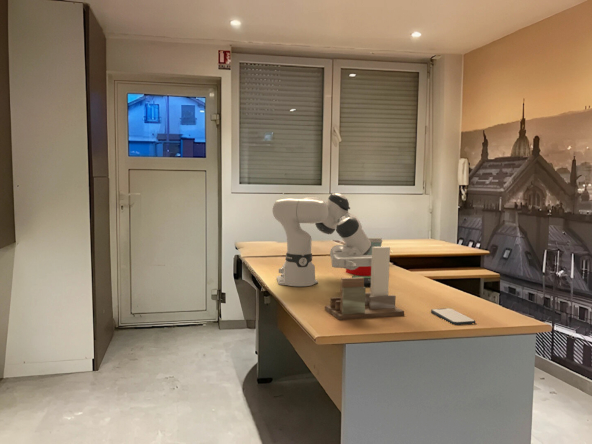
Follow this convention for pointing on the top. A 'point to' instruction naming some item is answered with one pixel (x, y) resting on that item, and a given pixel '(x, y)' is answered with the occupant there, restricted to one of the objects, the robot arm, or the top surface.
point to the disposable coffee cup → (374, 243)
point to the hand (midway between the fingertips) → (365, 264)
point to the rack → (367, 307)
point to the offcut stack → (352, 295)
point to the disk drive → (365, 280)
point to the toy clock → (360, 271)
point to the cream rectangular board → (380, 271)
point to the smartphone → (452, 316)
